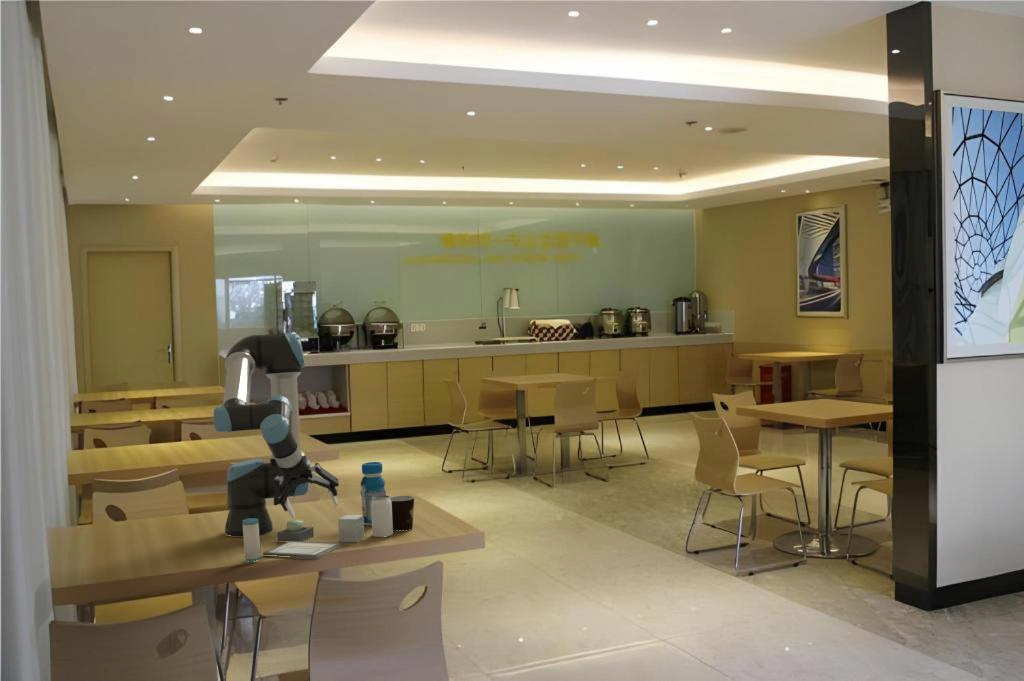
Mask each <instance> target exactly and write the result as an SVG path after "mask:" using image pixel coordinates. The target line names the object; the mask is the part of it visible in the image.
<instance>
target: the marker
mask: <svg viewBox="0 0 1024 681" xmlns="http://www.w3.org/2000/svg"><path fill="white" fill-rule="evenodd" d="M242 538H243V550H244V559H246V560H245V561H249V562H253V561H256V560H259V561H260V557H261V544H260V542H261V541H260V535H259V522H258V519H257V518H250V519H245V520H243V537H242Z"/></svg>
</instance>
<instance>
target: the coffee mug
mask: <svg viewBox="0 0 1024 681" xmlns="http://www.w3.org/2000/svg"><path fill="white" fill-rule="evenodd" d="M389 497H390V496H389ZM390 500H391V504H392V521H393V530H398V531H399V530H401V531H402V530H409V529H411V530H413V529H412V528H414V527H413V526H414V524H413V523H414V510H415V496H413V495H396V496H391V497H390ZM409 531H410V530H409ZM402 532H403V531H402Z"/></svg>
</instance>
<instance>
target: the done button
mask: <svg viewBox="0 0 1024 681" xmlns="http://www.w3.org/2000/svg"><path fill="white" fill-rule="evenodd" d="M303 527H304V520H303V519H291V520H288V521H286V528H287V532H300V531H303V530H304V529H303Z"/></svg>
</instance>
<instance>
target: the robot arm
mask: <svg viewBox="0 0 1024 681" xmlns="http://www.w3.org/2000/svg"><path fill="white" fill-rule="evenodd" d="M301 341H302V340H301V337H300V335H299V334H297V333H293V332H292V333H289V332H287V333H286V332H284V333H271V334H268V333H267V334H252V335H251V334H250V335H248V336H246V337H243V338H242V339H240V340H238V341H237V342H236V343H234V345H233V346H232V347H231V348H230V349H229V350H228V352H227V354H226V356H225V361H224V368H225V370H226V377H225V385H224V393H223V399H222V401H223V402H222V405H220V406H216V407H215V408H214V409H213V426H214V430H215V431H216V432H219V433H222V432H226V433H227V432H228V433H231V432H239V431H241V432H242V431H251V430H252V431H253V430H254V431H255V430H260V432H261V434H262V438H263V440H264V441H265V443H266V445H267V446H268V448H269V450H270V452H271V456H270V457H269V461H270V462H264V459H263V458H254V459H249V460H244V461H239V462H236V463H234V464H231V465H230V466H229V467H228V468H227V472H226V474H227V476H226V477H227V479H226V482H227V492H228V493H227V494H228V507H229V508H228V509H229V511H228V515H227V519H226V522H225V526H224V534H225V533H226V534H227V535H231V536H243V520H245V519H250V518H257V519H258V522H259V534H261V535H263V533H264V534H267V533H266V532H268V533H270V532H272V531H273V530H272V529H273V528H274V527H273V521H272V518H271V516H270V513H269V511H268V508H267V504H266V503H267V502H266V501H267V499H273V505H274V506H278V505H281V507H282V510H284V512H288V514H289V515H290V518H291V520H296V512H295V510H294V508H293V506H292V504H291V503H290V500H289V498H288V497H290V498H291V497H293V498H294V497H298V496H299V497H300V496H304V495H306V494H307V493H308V492H309V488H310V487H309V486H310V484H315V485H317V486H320V487H322V488H325V489H327V490H328V493H329V494H328V495H329V496H330V498H331V501H332V502H333V504H334V506H335V507H337V506H338V505H339V504H338V502H339V501H338V497H337V496H338V490H337V487H339V486H340V485H339V484H340V483H339V479H338V477H336V476H335V475H333V474H332V473H330V472H329V471H327V470H326V469H324V467H322V466H321V464H319V462H315V463H314V465H312V466H311V460H310V459H308V458H307V456H306V452H304V451H303V450H302V446H301V445H302V444H301V429H300V427H301V426H300V413H299V412H300V411H299V407H300V406H299V392H298V391H299V390H298V377H299V376H300V375H301V374H302V369H303V368H305V367H306V361H305V356H304V351H303V346H302V345H303V344H302V342H301ZM261 370H264V372H265V376H266V377H267V379H269V380H270V395H271V397H270V398H268V399H267V401H266V403H256V404H255V403H252V404H250V398H251V388H252V387H251V385H252V374H253V373H254V372H255V371H261ZM271 530H272V531H271ZM269 531H270V532H269Z"/></svg>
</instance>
